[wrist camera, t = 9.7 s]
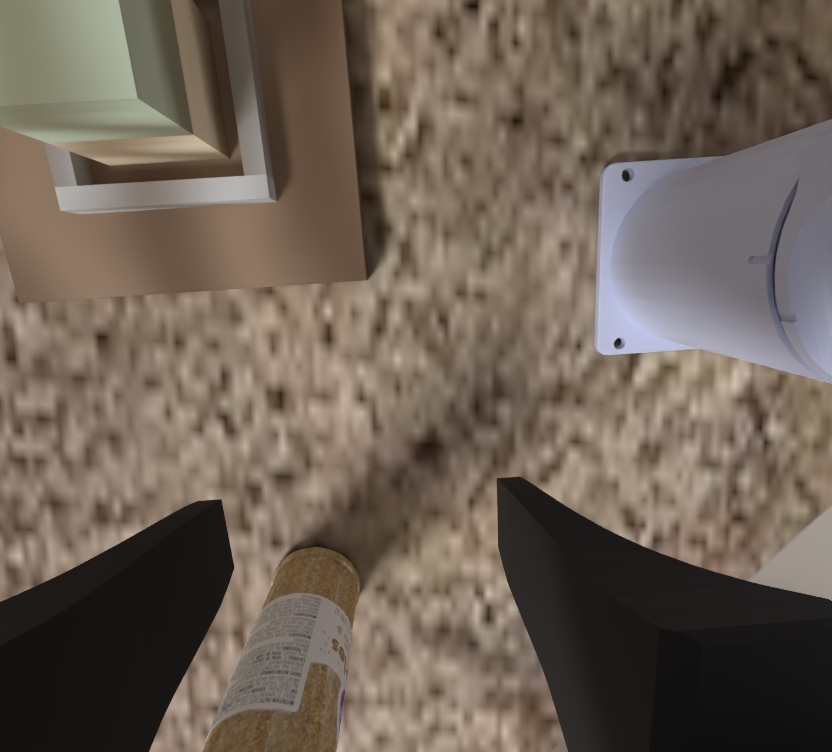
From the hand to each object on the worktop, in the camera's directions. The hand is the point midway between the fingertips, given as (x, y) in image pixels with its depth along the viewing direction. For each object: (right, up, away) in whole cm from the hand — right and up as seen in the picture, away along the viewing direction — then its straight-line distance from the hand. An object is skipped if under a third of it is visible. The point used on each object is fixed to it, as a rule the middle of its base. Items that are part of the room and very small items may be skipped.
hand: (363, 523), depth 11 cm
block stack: (-8, +14, +5) cm, 17 cm away
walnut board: (-8, +14, +6) cm, 18 cm away
